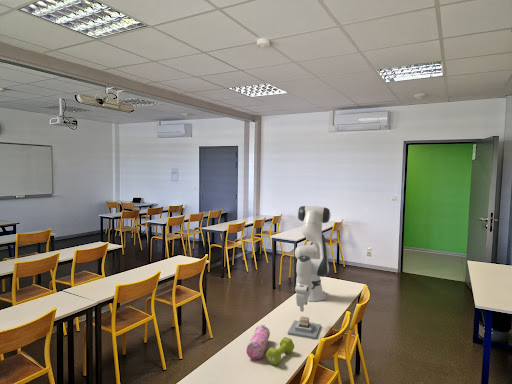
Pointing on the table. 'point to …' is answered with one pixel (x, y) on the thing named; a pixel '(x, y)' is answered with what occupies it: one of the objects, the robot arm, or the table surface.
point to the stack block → (304, 322)
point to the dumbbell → (279, 351)
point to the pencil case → (258, 342)
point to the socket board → (304, 330)
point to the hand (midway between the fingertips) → (303, 307)
